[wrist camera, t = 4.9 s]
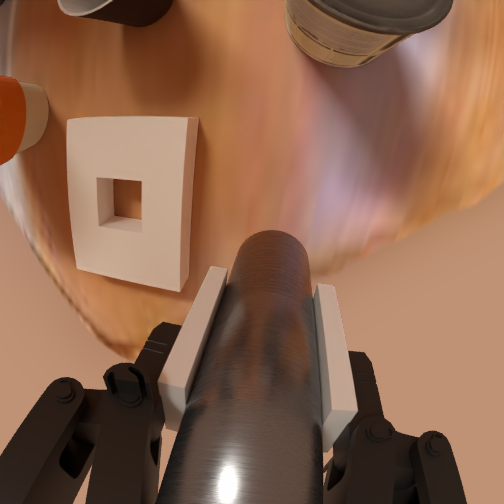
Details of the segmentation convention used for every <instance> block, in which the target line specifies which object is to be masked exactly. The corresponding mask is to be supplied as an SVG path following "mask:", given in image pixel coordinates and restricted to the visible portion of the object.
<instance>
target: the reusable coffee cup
mask: <svg viewBox="0 0 504 504" xmlns="http://www.w3.org/2000/svg"><path fill="white" fill-rule="evenodd" d="M48 116H49V105H48V99H47V96H46V93H45V91H44V90H43V88H42V87H40V86H39V85H37V84H32V83H26V82H18V81H17V80H16V79H14V78H12V77H5V76H0V165H2V164H4V163H6V162H7V161H9V160H10V159H11V158H13V156H14V155H15V154H17V153H19V152H21V151H23V150H25V149H27V148H29V147H31V146H33V145H35V144H36V143H37V142H38V141H39V140H40V139H41V137H42V135H43V134H44V131H45V129H46V126H47V122H48Z"/></svg>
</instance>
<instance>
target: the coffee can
mask: <svg viewBox="0 0 504 504" xmlns="http://www.w3.org/2000/svg"><path fill="white" fill-rule="evenodd" d="M285 4H286V13H285V20H286V26H287V29H288V32H289V34H290V36H291V38H292V40H293V41H294V42H295V44H296V45H297V46H298V47H299V48H300V49H301V50H302V51H303V52H304V53H305V54H307V55H308V56H310V57H311V58H313V59H315V60H317V61H319V62H321V63H324V64H327V65H330V66H334V67H342V68H352V67H358V66H362V65H365V64H367V63H369V62H372V61H373V60H374V59H376V58H377V57H378V56H379V55H380V54H382V53H384V52H385V51H387V50H388V49H390V48H392V47H393V46H395V45H397V44H398V43H400V42H402V41H404V40H405V39H407V38H409V37H410V36H412V35H414V34H416V33H420V32H423V31H425V30H427V29H430V28H432V27H434V26H436V25H437V24H439V23H440V22H441V21H442V20H443V19H444V18H445V17H446V16H447V14H448V13H449V11H450V9H451V7H452V4H453V0H285Z"/></svg>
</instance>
